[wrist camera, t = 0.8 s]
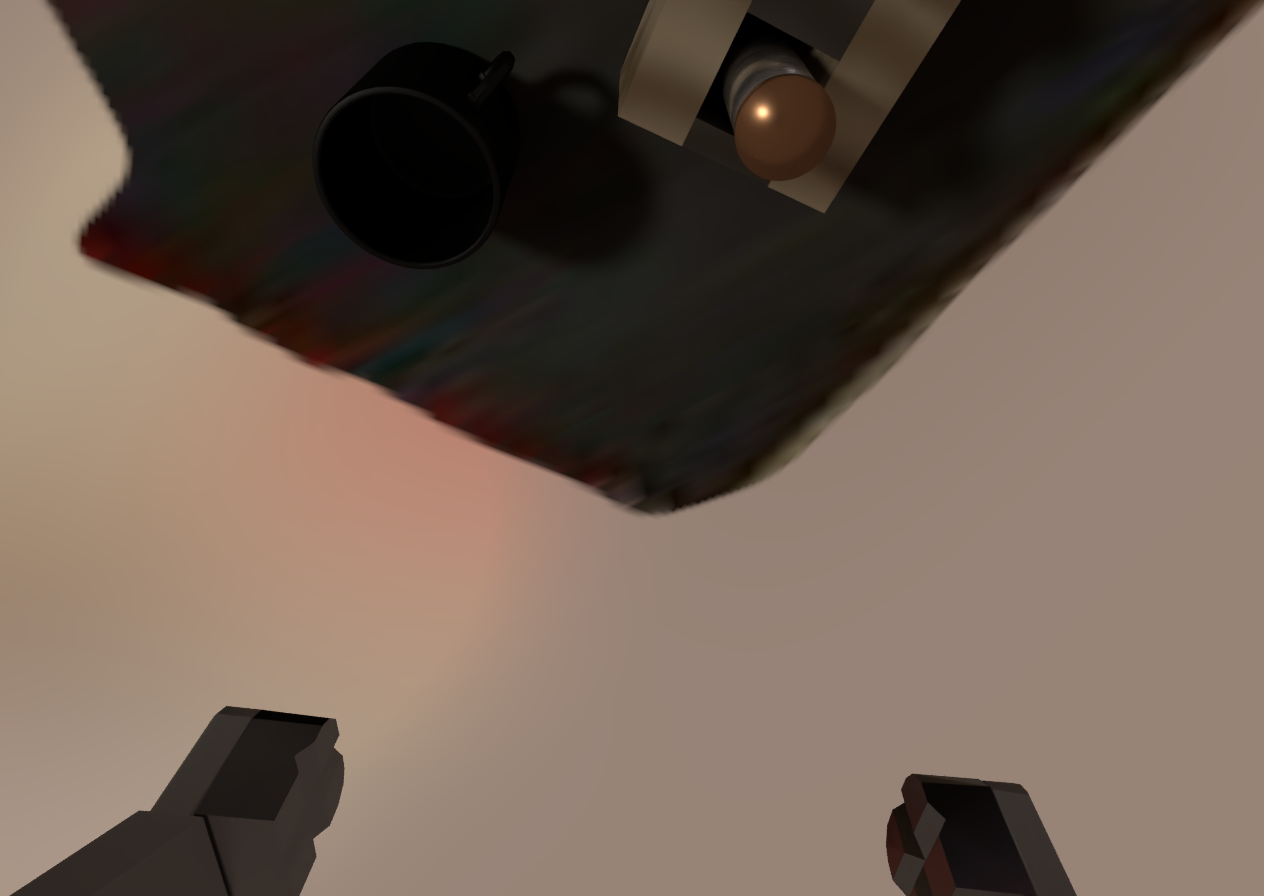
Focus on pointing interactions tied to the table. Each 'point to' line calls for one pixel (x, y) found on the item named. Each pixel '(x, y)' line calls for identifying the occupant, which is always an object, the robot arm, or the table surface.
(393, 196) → the mug
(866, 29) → the oak block
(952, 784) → the robot arm
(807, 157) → the cylinder
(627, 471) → the table surface
